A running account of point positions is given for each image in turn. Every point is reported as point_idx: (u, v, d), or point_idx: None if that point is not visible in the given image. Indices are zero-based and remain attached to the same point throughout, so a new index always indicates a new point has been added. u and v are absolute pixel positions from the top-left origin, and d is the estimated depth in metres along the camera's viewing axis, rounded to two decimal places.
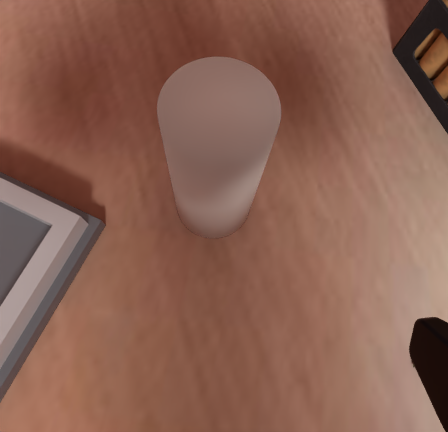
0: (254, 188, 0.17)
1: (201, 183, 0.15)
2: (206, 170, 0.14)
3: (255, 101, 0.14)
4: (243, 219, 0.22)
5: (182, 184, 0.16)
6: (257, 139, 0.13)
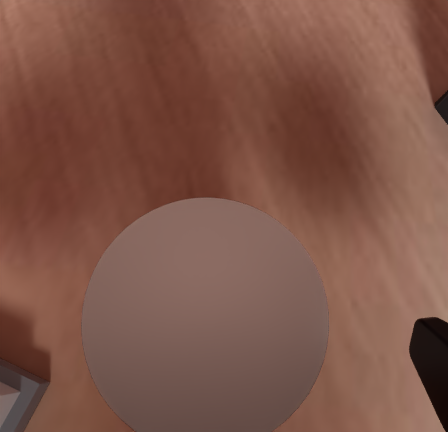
0: None
1: None
2: None
3: (275, 290, 0.07)
4: None
5: None
6: (286, 381, 0.07)
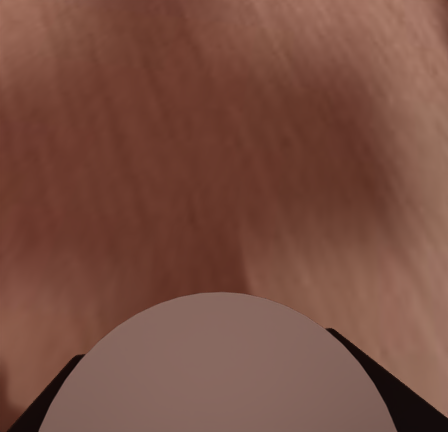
0: None
1: None
2: None
3: None
4: None
5: None
6: None
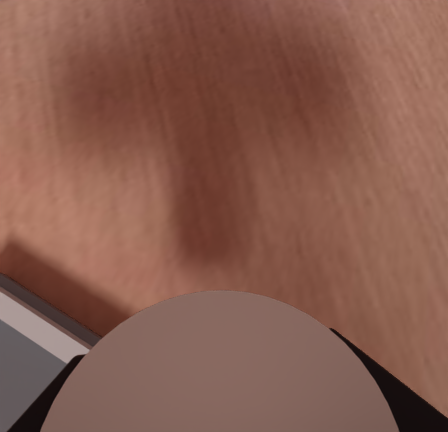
0: None
1: None
2: None
3: None
4: None
5: None
6: None
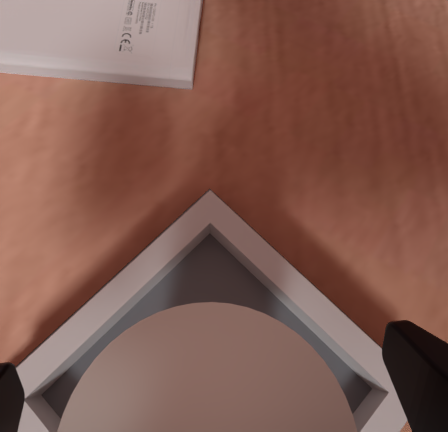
0: None
1: None
2: None
3: (295, 429, 0.06)
4: None
5: None
6: None
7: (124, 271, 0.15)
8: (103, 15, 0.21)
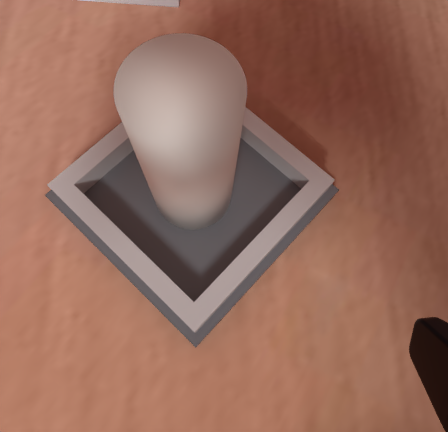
0: (229, 173, 0.17)
1: (169, 170, 0.14)
2: (170, 155, 0.13)
3: (218, 77, 0.13)
4: (224, 207, 0.21)
5: (151, 173, 0.15)
6: (223, 118, 0.13)
7: None
8: None
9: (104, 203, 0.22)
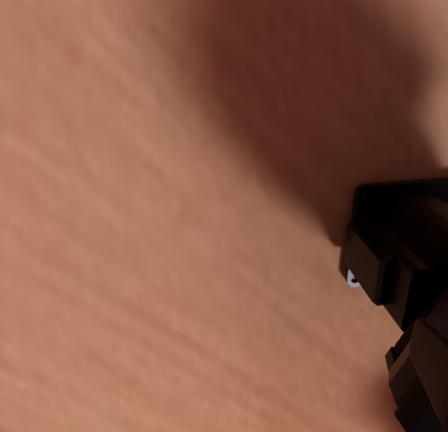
0: None
1: None
2: None
3: None
4: None
5: None
6: None
7: None
8: None
9: None
